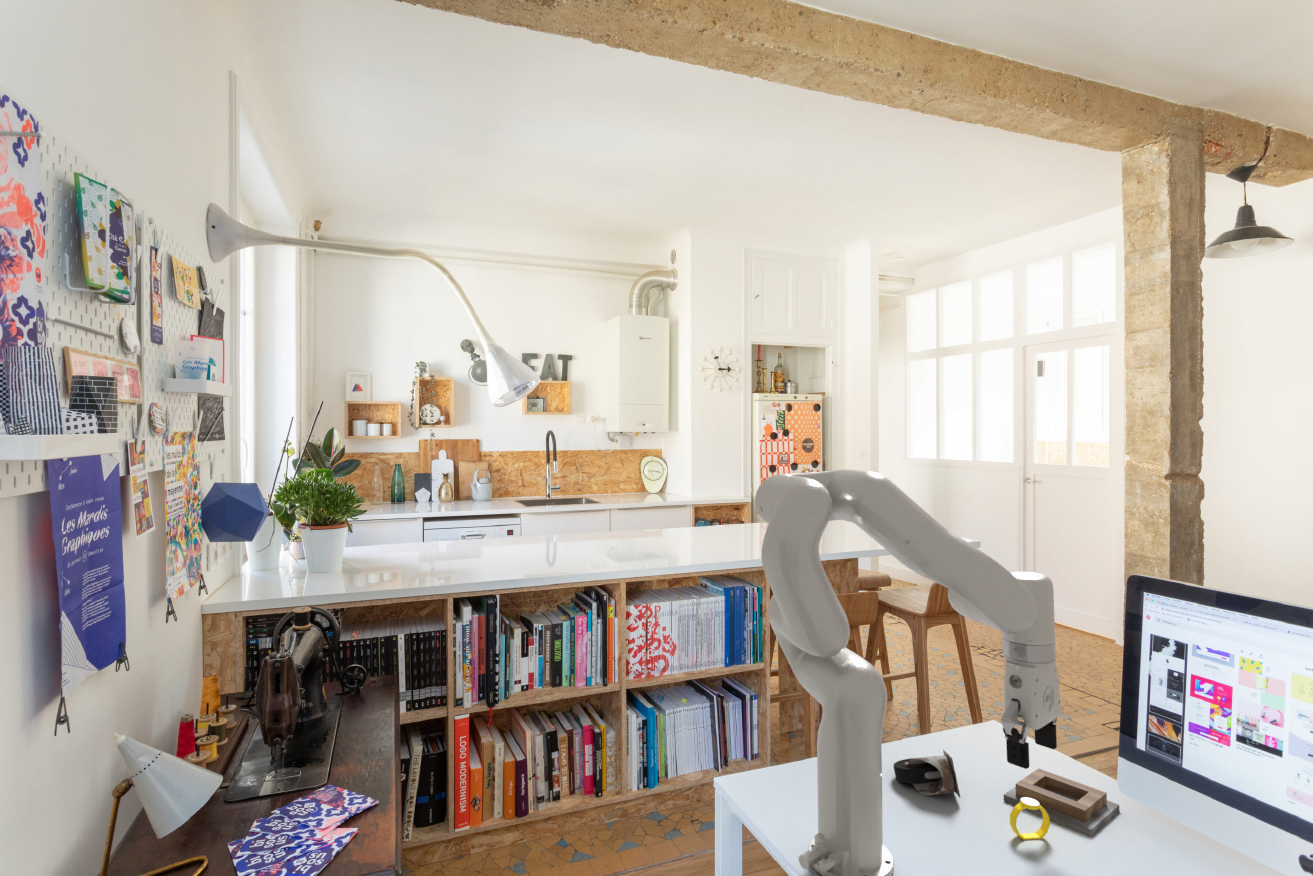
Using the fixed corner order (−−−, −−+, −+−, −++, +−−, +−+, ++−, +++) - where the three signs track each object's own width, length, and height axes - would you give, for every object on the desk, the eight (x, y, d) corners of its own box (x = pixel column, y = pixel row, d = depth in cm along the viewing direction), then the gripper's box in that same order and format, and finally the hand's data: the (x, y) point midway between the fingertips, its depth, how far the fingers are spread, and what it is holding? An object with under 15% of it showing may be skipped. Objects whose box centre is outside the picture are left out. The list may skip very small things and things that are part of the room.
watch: (1041, 833, 112) (1043, 797, 112) (1052, 843, 110) (1054, 806, 110) (1006, 832, 112) (1008, 796, 112) (1016, 842, 109) (1018, 805, 109)
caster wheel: (894, 785, 133) (948, 780, 131) (905, 803, 122) (964, 798, 120) (887, 748, 134) (940, 743, 133) (897, 763, 123) (955, 757, 122)
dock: (1091, 836, 111) (1091, 817, 111) (1003, 800, 122) (1003, 783, 122) (1119, 810, 118) (1119, 793, 118) (1034, 779, 129) (1034, 763, 129)
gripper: (1028, 668, 102) (1032, 782, 103) (1076, 643, 113) (1080, 747, 113) (978, 656, 108) (982, 764, 109) (1029, 634, 119) (1032, 732, 119)
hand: (1032, 755), depth 111 cm, fingers open, 9 cm apart
